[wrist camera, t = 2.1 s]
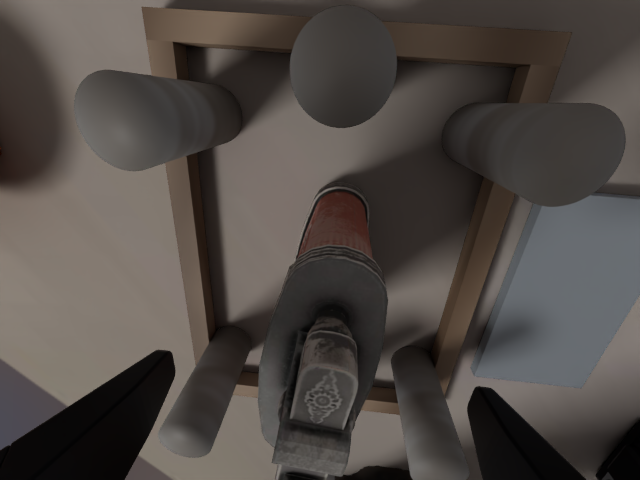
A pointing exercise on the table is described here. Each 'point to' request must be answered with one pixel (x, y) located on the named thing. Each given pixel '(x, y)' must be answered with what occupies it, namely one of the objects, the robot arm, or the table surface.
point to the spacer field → (345, 111)
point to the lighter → (323, 339)
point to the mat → (564, 292)
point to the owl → (378, 474)
